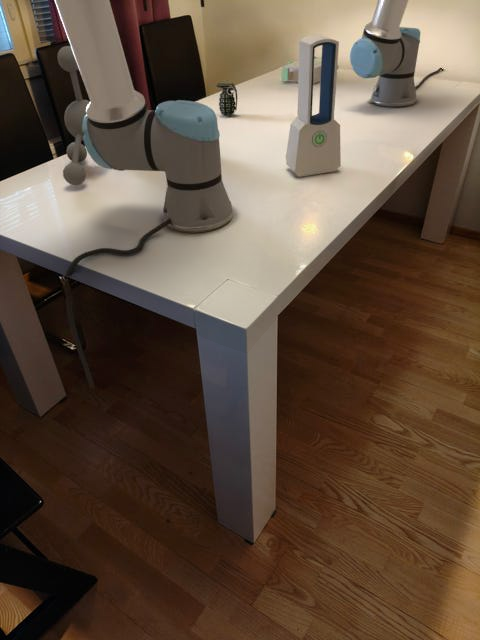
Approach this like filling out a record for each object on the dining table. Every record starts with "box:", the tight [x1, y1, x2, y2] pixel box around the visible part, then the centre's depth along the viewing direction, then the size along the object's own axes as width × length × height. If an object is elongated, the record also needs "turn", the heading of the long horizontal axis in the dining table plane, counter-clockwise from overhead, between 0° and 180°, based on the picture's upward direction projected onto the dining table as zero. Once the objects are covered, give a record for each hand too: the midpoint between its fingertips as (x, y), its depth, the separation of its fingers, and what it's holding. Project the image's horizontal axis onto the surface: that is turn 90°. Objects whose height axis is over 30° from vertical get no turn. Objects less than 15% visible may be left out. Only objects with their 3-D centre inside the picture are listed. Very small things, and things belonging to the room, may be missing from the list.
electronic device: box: [285, 34, 342, 178], centre depth 117 cm, size 12×8×30 cm, turn 105°
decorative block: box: [281, 55, 339, 85], centre depth 206 cm, size 26×6×20 cm
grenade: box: [215, 82, 238, 117], centre depth 166 cm, size 7×6×10 cm
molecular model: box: [57, 45, 90, 186], centre depth 125 cm, size 24×22×30 cm
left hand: (174, 8), depth 117 cm, fingers open, 13 cm apart
